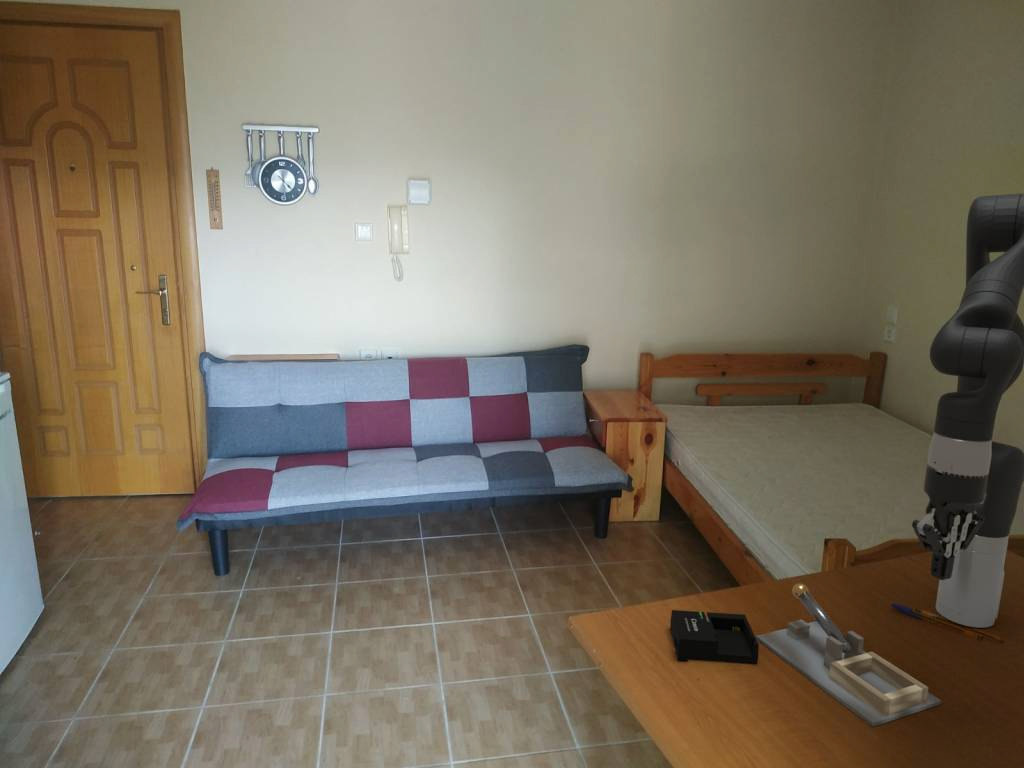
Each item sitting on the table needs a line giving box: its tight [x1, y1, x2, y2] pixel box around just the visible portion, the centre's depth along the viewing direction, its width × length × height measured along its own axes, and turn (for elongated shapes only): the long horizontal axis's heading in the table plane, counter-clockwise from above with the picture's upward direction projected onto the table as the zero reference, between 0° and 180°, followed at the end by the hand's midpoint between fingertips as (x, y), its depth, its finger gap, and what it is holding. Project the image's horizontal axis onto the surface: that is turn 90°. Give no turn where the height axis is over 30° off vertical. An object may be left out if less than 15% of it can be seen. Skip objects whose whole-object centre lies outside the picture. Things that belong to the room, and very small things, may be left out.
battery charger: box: [669, 609, 760, 665], centre depth 118 cm, size 13×10×4 cm
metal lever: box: [791, 583, 851, 653], centre depth 116 cm, size 3×13×3 cm, turn 22°
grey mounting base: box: [755, 619, 942, 728], centre depth 112 cm, size 14×24×6 cm, turn 22°
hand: (940, 577), depth 103 cm, fingers closed
